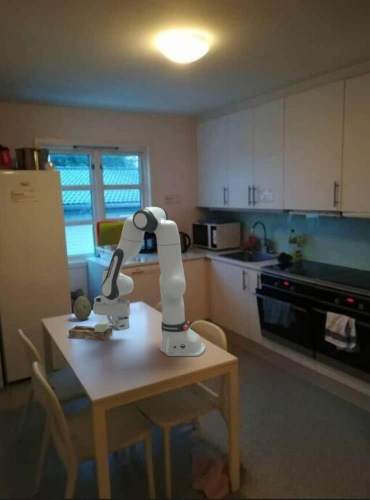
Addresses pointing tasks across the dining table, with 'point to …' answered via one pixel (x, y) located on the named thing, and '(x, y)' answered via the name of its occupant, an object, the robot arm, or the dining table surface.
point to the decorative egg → (82, 308)
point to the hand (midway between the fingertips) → (112, 323)
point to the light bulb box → (121, 322)
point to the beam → (89, 333)
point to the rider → (101, 327)
